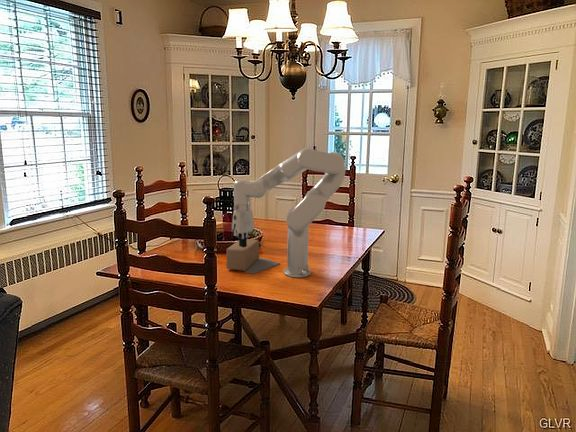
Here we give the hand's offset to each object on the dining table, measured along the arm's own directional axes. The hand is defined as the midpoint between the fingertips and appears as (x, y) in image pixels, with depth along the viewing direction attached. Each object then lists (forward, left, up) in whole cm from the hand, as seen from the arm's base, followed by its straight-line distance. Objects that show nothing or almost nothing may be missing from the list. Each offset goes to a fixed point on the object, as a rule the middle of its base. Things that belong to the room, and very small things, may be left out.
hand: (242, 246), depth 210 cm
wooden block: (+1, +3, -6) cm, 7 cm away
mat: (+3, -9, -12) cm, 15 cm away
